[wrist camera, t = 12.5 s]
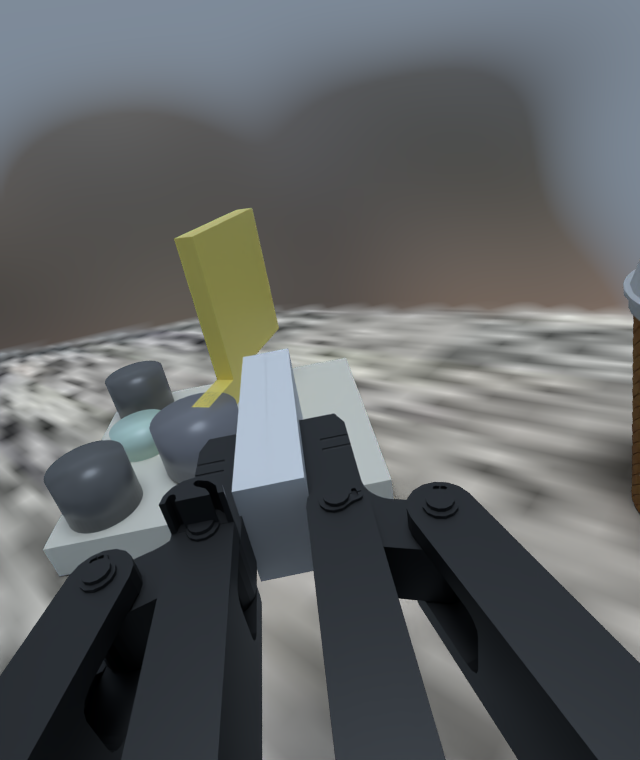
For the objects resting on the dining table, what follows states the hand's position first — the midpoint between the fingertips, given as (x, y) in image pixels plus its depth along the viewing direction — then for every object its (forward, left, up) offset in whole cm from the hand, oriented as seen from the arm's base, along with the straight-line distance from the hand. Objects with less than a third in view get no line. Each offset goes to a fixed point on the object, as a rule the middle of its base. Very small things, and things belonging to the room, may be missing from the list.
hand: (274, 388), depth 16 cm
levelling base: (-5, +12, -11) cm, 17 cm away
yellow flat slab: (-4, +14, -9) cm, 17 cm away
